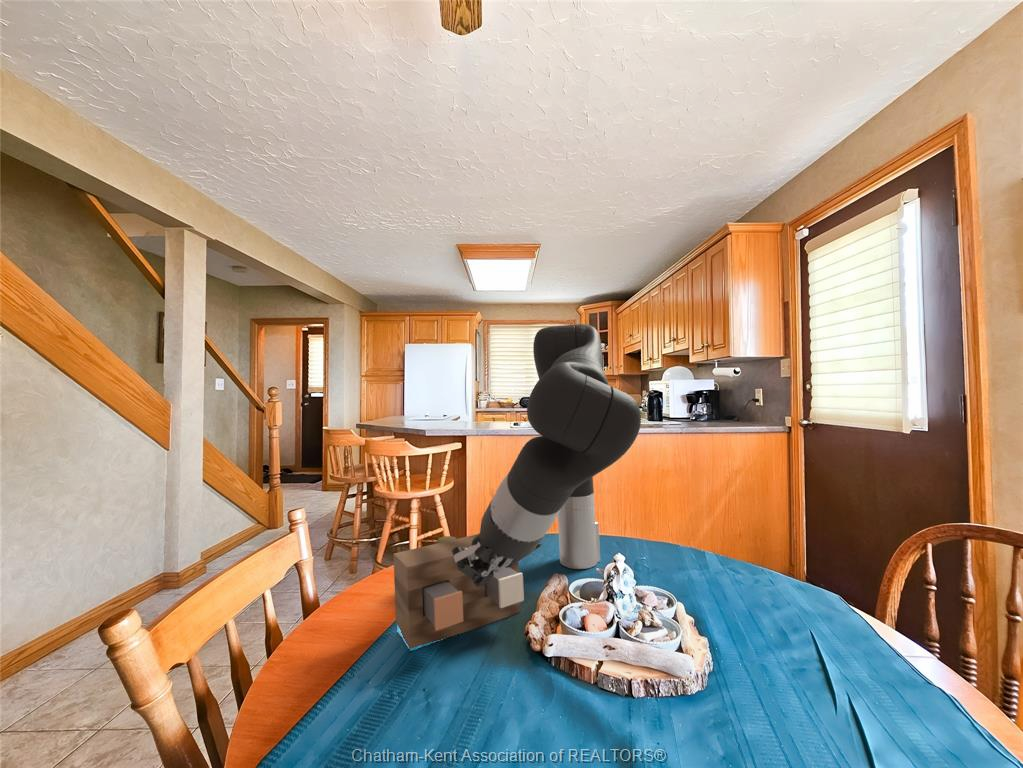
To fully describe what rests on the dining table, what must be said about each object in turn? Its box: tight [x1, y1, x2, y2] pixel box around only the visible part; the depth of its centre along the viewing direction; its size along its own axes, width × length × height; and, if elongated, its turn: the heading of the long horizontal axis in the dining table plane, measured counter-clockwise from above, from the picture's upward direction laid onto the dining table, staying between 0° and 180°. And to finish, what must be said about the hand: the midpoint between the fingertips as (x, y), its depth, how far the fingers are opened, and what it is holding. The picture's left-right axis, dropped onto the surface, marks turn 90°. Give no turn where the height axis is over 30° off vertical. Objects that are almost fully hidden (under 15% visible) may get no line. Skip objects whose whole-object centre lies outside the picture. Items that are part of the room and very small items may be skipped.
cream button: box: [485, 567, 525, 608], centre depth 79 cm, size 5×9×5 cm, turn 32°
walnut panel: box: [393, 533, 521, 649], centre depth 80 cm, size 22×8×14 cm, turn 122°
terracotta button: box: [422, 581, 463, 631], centre depth 73 cm, size 5×9×5 cm, turn 32°
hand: (478, 579), depth 60 cm, fingers closed
